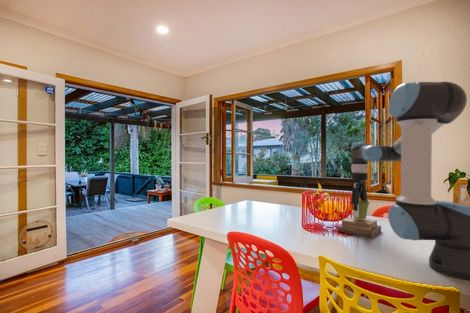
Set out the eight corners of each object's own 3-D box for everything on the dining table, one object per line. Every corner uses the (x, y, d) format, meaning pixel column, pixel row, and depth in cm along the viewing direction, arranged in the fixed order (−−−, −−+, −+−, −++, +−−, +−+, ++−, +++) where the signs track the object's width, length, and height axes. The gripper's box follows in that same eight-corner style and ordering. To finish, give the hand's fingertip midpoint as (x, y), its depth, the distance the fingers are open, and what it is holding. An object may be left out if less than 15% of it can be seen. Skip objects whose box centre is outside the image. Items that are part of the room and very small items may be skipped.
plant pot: (370, 217, 134) (370, 201, 134) (369, 221, 126) (369, 203, 126) (350, 215, 139) (350, 199, 139) (348, 219, 131) (348, 202, 131)
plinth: (371, 238, 121) (371, 226, 121) (337, 231, 132) (337, 220, 132) (381, 231, 133) (381, 220, 133) (349, 225, 144) (349, 215, 144)
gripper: (359, 173, 122) (359, 220, 122) (373, 171, 138) (373, 212, 138) (343, 172, 127) (343, 217, 127) (359, 171, 143) (359, 210, 143)
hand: (359, 215), depth 132 cm, fingers closed on plant pot, 9 cm apart
